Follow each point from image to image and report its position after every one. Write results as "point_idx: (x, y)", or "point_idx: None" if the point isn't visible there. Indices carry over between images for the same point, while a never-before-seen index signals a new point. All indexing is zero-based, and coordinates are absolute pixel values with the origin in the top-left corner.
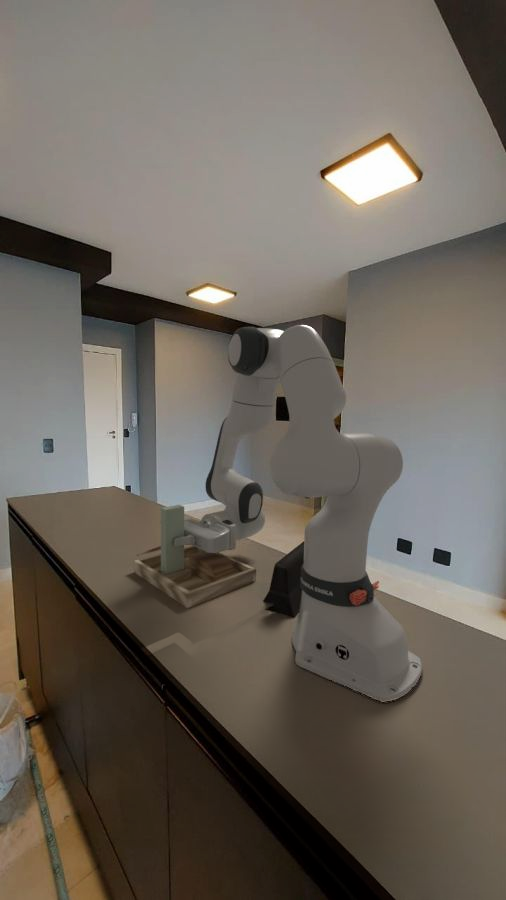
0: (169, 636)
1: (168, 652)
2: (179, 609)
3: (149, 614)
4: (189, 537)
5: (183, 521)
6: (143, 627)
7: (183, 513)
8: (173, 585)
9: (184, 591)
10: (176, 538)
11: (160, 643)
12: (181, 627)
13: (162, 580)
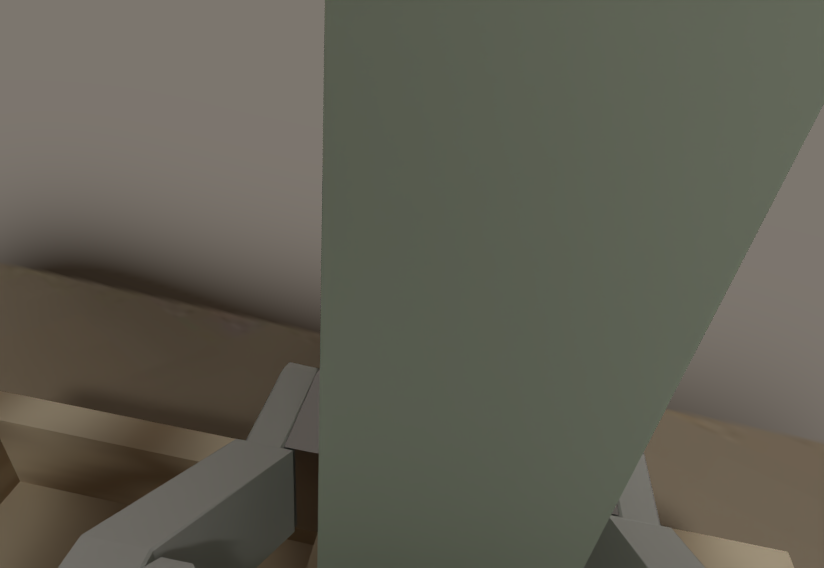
0: (50, 336)
1: (11, 288)
2: None
3: (242, 393)
4: (102, 532)
5: (327, 311)
6: (197, 331)
7: (332, 9)
8: (154, 422)
9: (26, 402)
10: (307, 381)
11: (67, 303)
12: (18, 393)
13: None
